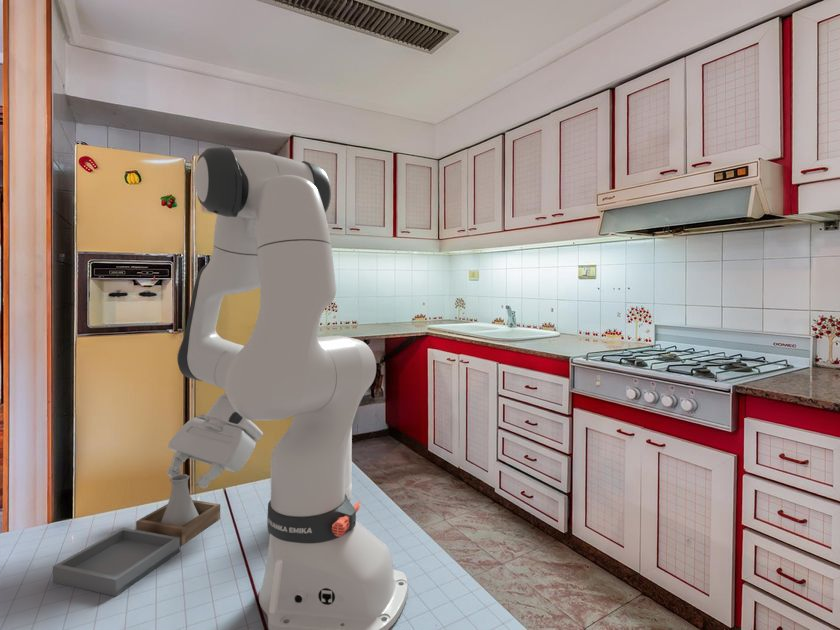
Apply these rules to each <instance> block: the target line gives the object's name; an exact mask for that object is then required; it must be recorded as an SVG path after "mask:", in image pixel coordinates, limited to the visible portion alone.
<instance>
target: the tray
mask: <svg viewBox="0 0 840 630" xmlns="http://www.w3.org/2000/svg"><path fill="white" fill-rule="evenodd" d="M180 546H181V545H180V538H179V537H173V536H168V535H162V534H157V533H151V532H145V531H140V530H136V529H133V528H128V527H122V528H120V529H118V530H115V532H112V533H111V534H109V535H107V536H106V537H104V538H102V539H100V540H98V541H96V542H94V543H93V544H91V545H88V546H87V547H86V548H84V549H82V550H80V551H78V552H77V553H75V554H72V555H71V556H69V557H67V558H65V559H64V560H62V561H60V562H58V563H56V564H55V565H53V566H52V582H53V583H56V584H60V585H64V586H70V587H74V588H77V589H82V590H86V591H91V592H95V593H100V594H104V595H108V596H113V597H118V596H119V595H120V594H121V593H123V592H125V591H126V590H128V589H129V588H130V587H131V586H133V585H135V584H136V583H137V582H138V581H140V580H142V579H143V578H144V577H145V576H146V577H147V575H148V574H150V573H151V572H153V571H154V570H156V569H157V568H159V567H160V566H161V565H162V564H164V563H166V562H168V560H170V559H171V558H172V557H174V556H176V555H177V554H178V553H180V548H181V547H180Z"/></svg>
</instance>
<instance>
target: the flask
mask: <svg viewBox="0 0 840 630" xmlns="http://www.w3.org/2000/svg"><path fill="white" fill-rule="evenodd" d="M190 477H191V476H190V475H188V474H186V473H185V474H182V473H181V474H178V475H176V476H173V477H170V478H169V482H170V483H171V490H170V496H169V499H168V503H167V504H168V505H167V508H166V511H165V513H164V516H163V518H162V521H161V523H165V524H171V525H176V526H183V525H184V524H186V523H188V522H189V521H191V520H192V519H194V518H195V517H197V516H198V515H199V514H198V512H197V510H196V508H195V506H194V503H193V501H192V500H193V499H192V497H191V494H190V489H189V479H190Z"/></svg>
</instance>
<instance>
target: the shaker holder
mask: <svg viewBox="0 0 840 630" xmlns="http://www.w3.org/2000/svg"><path fill="white" fill-rule="evenodd" d="M192 501H193V503H194V506H195V508H196V510H197V512H198V514H199V515H198V516H197V517H195V518H194V519H192V520H191V521H189V522H188V523H186V524H184V525H183V526H176V525H171V524H165V523H161V521H162V518H163V516H164V513H165V511H166V508H167V505H168V503H166V504H164V505H162V507H159V508H157V509H156V510H154V511H152V512H150V513H148V514H146V515H145V516H143V517H142V518H140V519H138V520H136V521H135V528H136V529H135V530H140V531H145V532H151V533H157V534H162V535H168V536H173V537H179V538H180V546H184V545H185V544H186V543H188V542H189V541H190V540H192V539H193V538H195V537H196V536H198V535H199V534H201V533H202V532H203V531H205V530H207V529H208V528H210V526H212V525H213V524H215V523H217V522H218V521H219V520H221V503H216V502H215V503H214V502H209V501H208V502H207V501H202V500H196V499H195V500H194V499H192Z"/></svg>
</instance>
